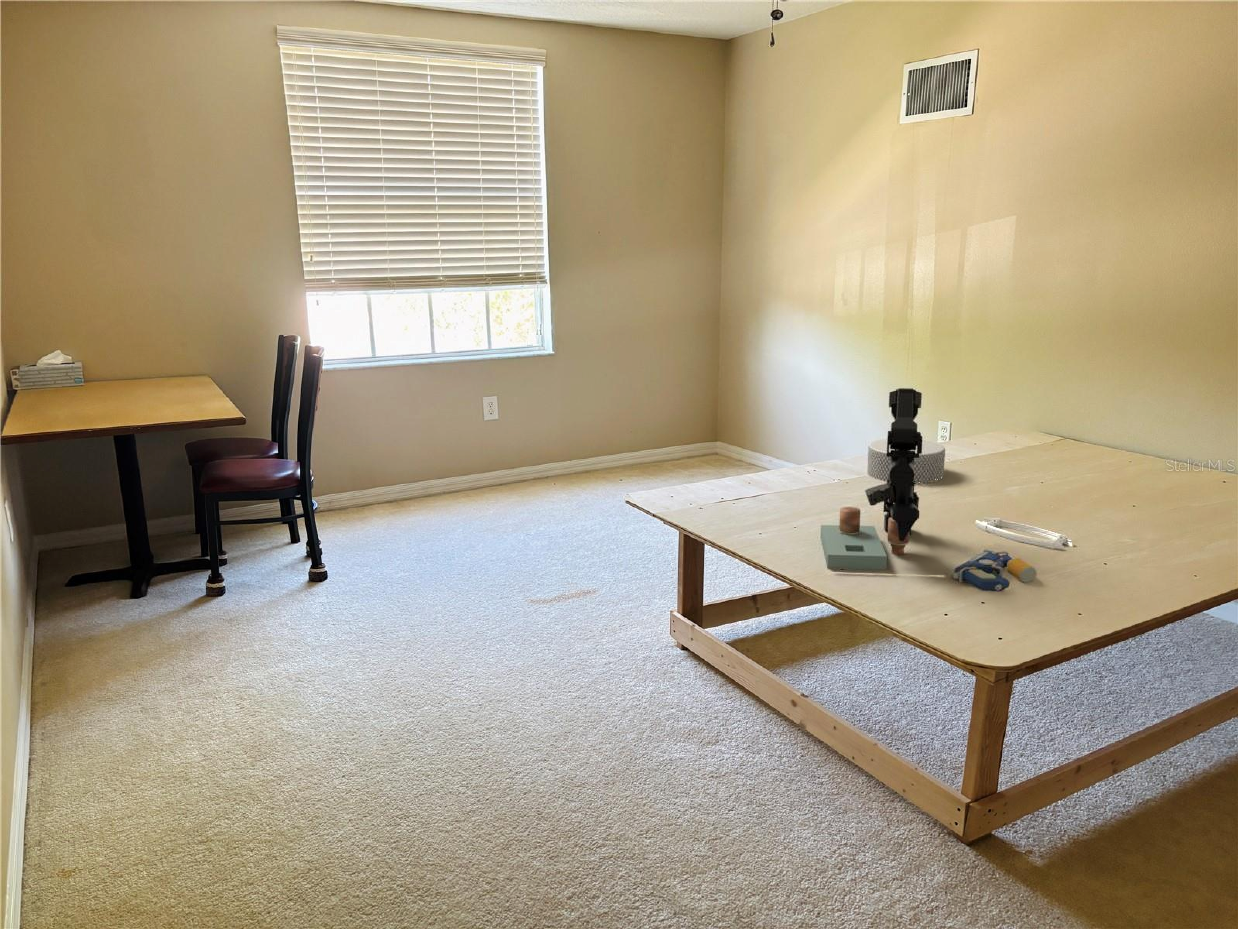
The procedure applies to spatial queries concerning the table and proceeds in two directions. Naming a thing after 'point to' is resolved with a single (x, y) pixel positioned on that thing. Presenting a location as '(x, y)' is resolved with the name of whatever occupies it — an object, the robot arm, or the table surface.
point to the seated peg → (849, 520)
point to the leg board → (853, 549)
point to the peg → (896, 538)
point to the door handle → (1051, 543)
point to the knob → (924, 466)
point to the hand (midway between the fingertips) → (898, 534)
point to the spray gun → (993, 571)
